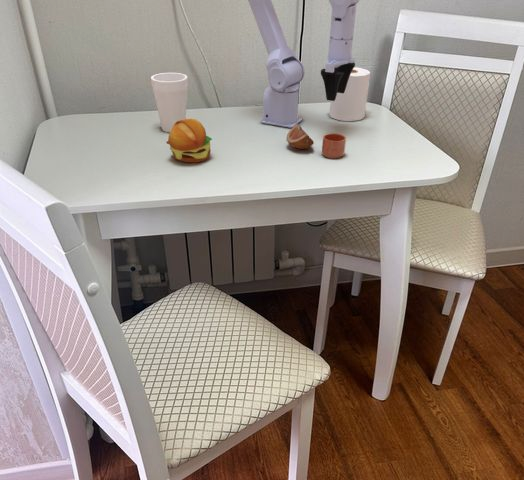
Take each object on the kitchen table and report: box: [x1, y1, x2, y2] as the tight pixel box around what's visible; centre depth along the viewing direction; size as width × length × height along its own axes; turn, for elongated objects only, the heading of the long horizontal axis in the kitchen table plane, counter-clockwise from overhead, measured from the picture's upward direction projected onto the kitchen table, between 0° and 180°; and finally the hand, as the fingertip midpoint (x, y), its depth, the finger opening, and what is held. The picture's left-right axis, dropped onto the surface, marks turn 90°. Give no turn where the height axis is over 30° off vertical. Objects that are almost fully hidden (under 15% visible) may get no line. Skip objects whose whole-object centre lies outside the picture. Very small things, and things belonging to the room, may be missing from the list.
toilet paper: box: [329, 66, 371, 122], centre depth 157 cm, size 10×10×12 cm
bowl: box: [321, 133, 347, 160], centre depth 135 cm, size 6×6×4 cm
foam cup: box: [150, 72, 189, 133], centre depth 146 cm, size 10×9×13 cm
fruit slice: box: [286, 123, 315, 150], centre depth 138 cm, size 8×7×5 cm
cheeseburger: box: [165, 118, 213, 163], centre depth 131 cm, size 10×11×10 cm
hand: (335, 96), depth 143 cm, fingers open, 7 cm apart
